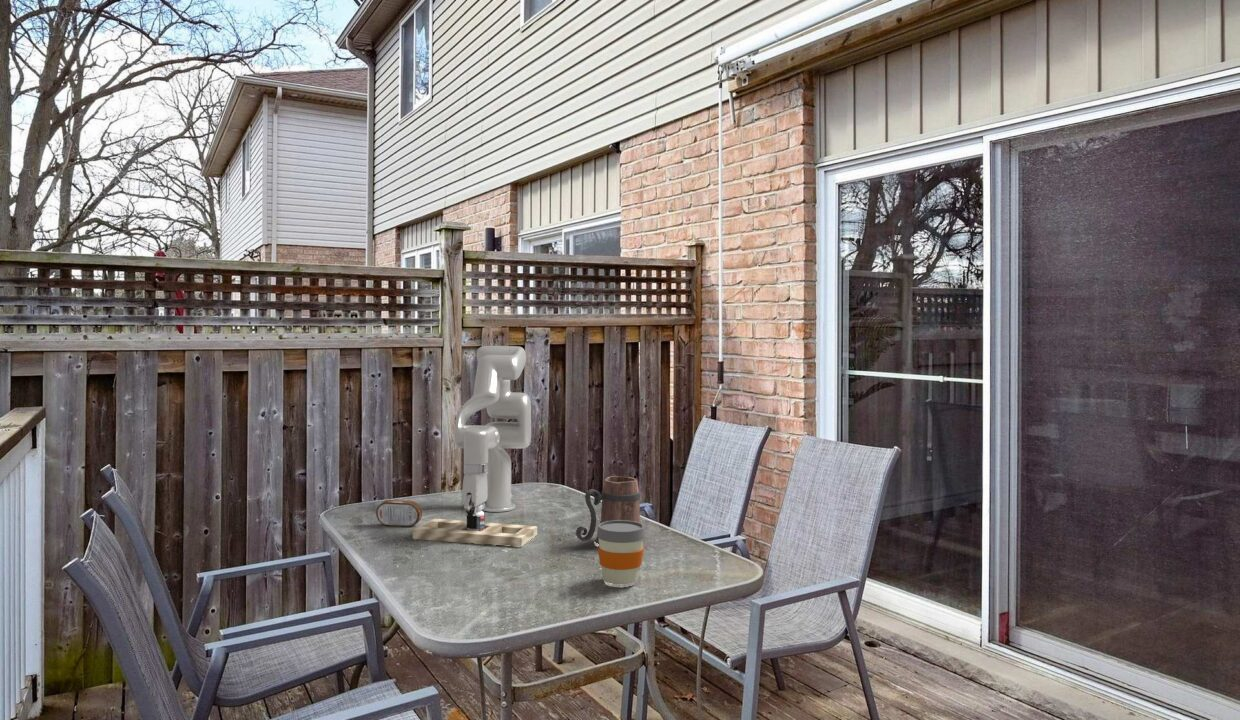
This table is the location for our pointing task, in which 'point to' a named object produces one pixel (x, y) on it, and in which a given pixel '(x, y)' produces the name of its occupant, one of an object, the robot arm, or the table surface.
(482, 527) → the pill bottle
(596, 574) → the table surface
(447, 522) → the wooden rack
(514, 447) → the robot arm
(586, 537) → the tankard
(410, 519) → the tin
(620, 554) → the reusable coffee cup
